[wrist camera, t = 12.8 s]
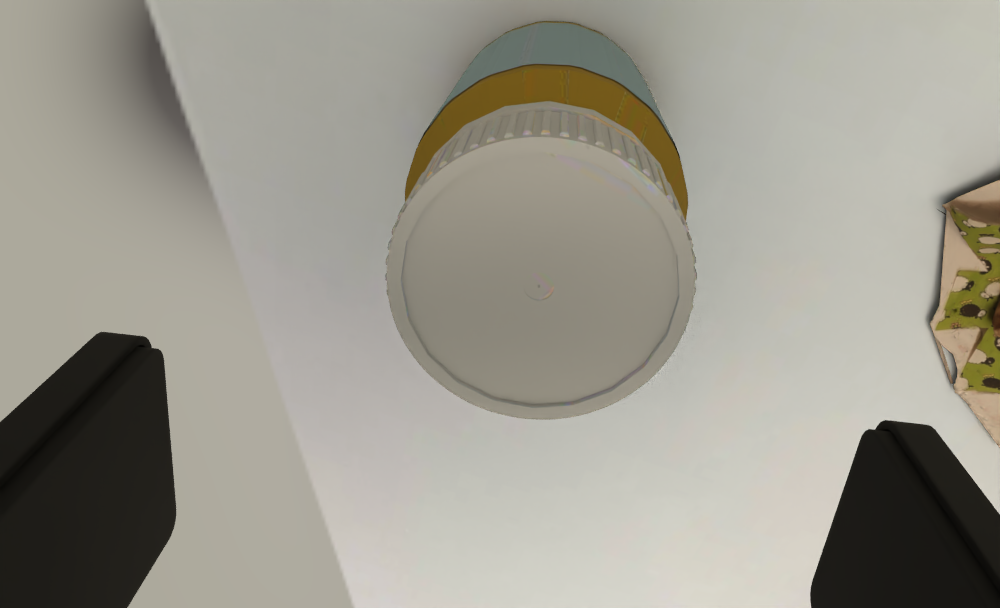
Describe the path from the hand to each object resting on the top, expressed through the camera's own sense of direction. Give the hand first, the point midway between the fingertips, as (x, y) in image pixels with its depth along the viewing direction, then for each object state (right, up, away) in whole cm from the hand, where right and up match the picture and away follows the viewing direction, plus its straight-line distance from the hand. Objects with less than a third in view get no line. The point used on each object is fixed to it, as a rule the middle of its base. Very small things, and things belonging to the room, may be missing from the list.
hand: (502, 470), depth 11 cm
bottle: (+2, +9, +19) cm, 21 cm away
